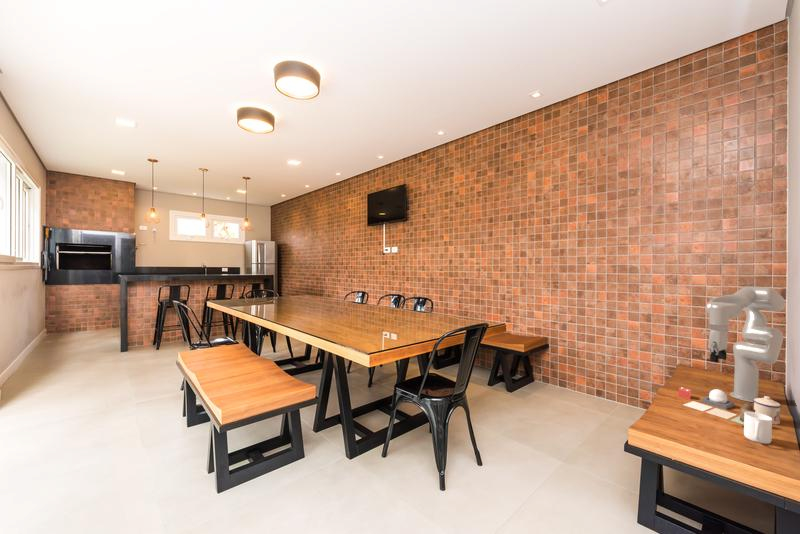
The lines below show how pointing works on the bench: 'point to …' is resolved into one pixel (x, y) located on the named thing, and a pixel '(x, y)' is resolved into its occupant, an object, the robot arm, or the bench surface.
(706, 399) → the dome housing
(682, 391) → the red die
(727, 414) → the game board
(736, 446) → the bench surface
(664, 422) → the bench surface
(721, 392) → the dome
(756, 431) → the cup
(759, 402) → the teacup with lid
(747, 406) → the pawn
